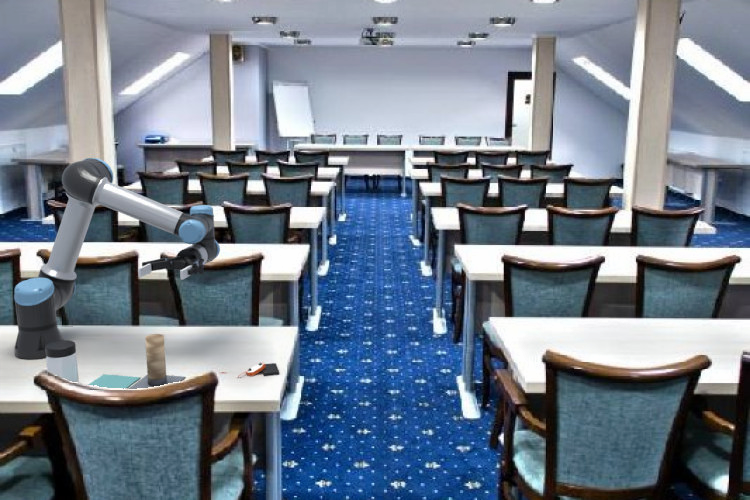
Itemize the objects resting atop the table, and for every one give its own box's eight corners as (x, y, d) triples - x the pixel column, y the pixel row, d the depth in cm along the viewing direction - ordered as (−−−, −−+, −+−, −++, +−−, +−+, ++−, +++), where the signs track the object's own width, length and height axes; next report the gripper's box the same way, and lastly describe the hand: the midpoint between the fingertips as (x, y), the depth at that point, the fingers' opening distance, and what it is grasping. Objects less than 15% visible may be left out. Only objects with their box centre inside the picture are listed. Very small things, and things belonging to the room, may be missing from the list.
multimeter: (218, 386, 221) (217, 375, 221) (218, 371, 233) (218, 360, 232) (280, 382, 225) (280, 371, 224) (277, 367, 236) (277, 357, 235)
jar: (71, 375, 229) (67, 337, 226) (85, 382, 224) (82, 343, 221) (42, 384, 222) (38, 345, 219) (56, 391, 217) (52, 351, 214)
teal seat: (80, 390, 217) (80, 389, 217) (103, 375, 229) (103, 374, 229) (119, 394, 215) (119, 392, 215) (140, 378, 226) (140, 377, 226)
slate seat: (127, 390, 217) (127, 389, 217) (148, 375, 229) (148, 373, 229) (166, 393, 215) (166, 392, 215) (185, 378, 226) (185, 376, 226)
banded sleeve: (144, 385, 220) (141, 339, 217) (153, 378, 225) (150, 333, 222) (161, 387, 219) (158, 340, 216) (170, 380, 224) (167, 334, 221)
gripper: (228, 271, 246) (199, 288, 226) (156, 267, 251) (123, 284, 231) (226, 248, 244) (198, 263, 224) (155, 245, 249) (121, 260, 229)
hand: (160, 274), depth 227 cm, fingers open, 13 cm apart
